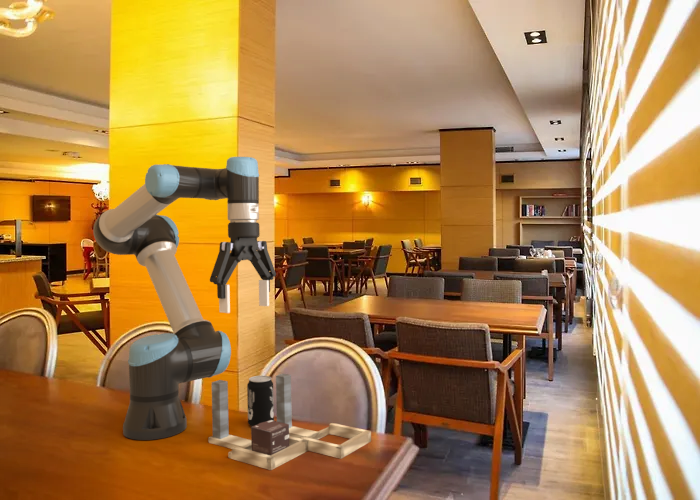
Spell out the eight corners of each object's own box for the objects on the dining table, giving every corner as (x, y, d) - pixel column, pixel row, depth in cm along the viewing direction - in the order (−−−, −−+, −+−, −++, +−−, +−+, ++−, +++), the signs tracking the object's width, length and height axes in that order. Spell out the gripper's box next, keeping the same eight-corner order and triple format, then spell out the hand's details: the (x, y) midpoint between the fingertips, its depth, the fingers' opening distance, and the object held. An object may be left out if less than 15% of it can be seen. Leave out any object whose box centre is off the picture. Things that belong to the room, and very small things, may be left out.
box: (270, 466, 122) (270, 432, 121) (250, 460, 125) (250, 426, 125) (290, 457, 126) (289, 424, 126) (270, 451, 130) (270, 419, 130)
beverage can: (268, 429, 144) (268, 382, 144) (244, 428, 145) (243, 381, 145) (277, 421, 151) (276, 375, 150) (253, 419, 152) (252, 374, 152)
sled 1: (194, 448, 132) (193, 386, 132) (233, 432, 143) (232, 375, 142) (271, 470, 119) (269, 402, 119) (307, 450, 130) (306, 388, 129)
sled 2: (261, 438, 138) (260, 379, 137) (294, 424, 148) (293, 369, 148) (341, 458, 125) (340, 393, 125) (371, 441, 135) (370, 381, 135)
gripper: (216, 220, 127) (217, 316, 128) (288, 221, 148) (290, 304, 148) (192, 221, 131) (194, 314, 132) (266, 222, 152) (268, 302, 153)
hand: (245, 309), depth 140 cm, fingers open, 13 cm apart
